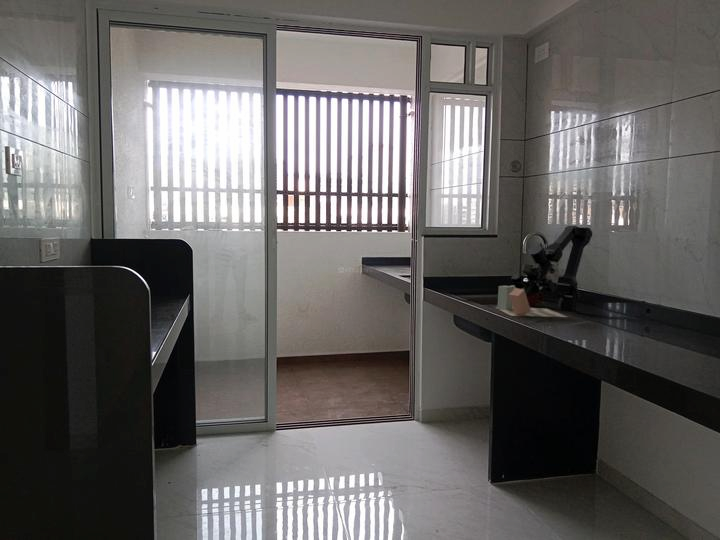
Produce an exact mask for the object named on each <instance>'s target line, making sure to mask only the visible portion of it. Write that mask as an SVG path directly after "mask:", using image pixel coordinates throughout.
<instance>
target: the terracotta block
mask: <svg viewBox="0 0 720 540" xmlns="http://www.w3.org/2000/svg"><path fill="white" fill-rule="evenodd" d="M509 296H510V299H511V302H512V305H513V309H514V312H515V315H521V316H520V317H526V316H525V315H526V314H527V313H528V312H529V311H530V308H531V306H529V303H528V300H527V296H526V293H525V290H522V289H514V290H513V291H512V292H511V293H510V294H509Z"/></svg>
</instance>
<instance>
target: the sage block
mask: <svg viewBox="0 0 720 540" xmlns="http://www.w3.org/2000/svg"><path fill="white" fill-rule="evenodd" d="M511 286H512V285H498V290H497V291H498V293H497V306H496V307H497V308H496V309H498V310H499V309H502V310H512V302H511V299H510V296H509V294H510V293H511V292H512V291H513V288H514V287H511Z"/></svg>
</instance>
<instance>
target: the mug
mask: <svg viewBox="0 0 720 540" xmlns="http://www.w3.org/2000/svg"><path fill="white" fill-rule="evenodd" d="M540 295H541V300H539V301H538V299H539V296H540ZM527 300H528V303H529V306H530V307H535V306H536V305H537V304H541V303H543V302H544V301H545V294H544V293H543V292H540V293H536V294H534V295H532V296H530V297H528V298H527Z"/></svg>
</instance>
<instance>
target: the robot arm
mask: <svg viewBox="0 0 720 540" xmlns="http://www.w3.org/2000/svg"><path fill="white" fill-rule="evenodd" d="M592 237H593V231H592V230H591V228H590V227H580V226H576V225H567V226H565V228H564V230H563V231H562V232H561V233H560V235H559V236H558V237H557V238H556V240H554V242H553V243H551V244H548V245H547V246H545V247H544V246H543V244H542V243H536V245H533V246H531V247H529V248H528V250H527V251H528V255H529V257H530V259H531V260H532V262H533V263H534V264H535V265H533V264H524V265H523V266H522V271H521V273H524V274H525V278H524V277H523V276H522V275H516V274H514V275H512V276H511V278H510V281H511V282H512V284H513V285H514V286H515V287H516V288H519V289H522V288H523V290H525V293H526V296H527V298H528V297H530V296H532V295H534V294H536V293H540V292H541V290H542V289H543V288H545V289H546V290H545V291H546V292H547V293H549V294H553V293H555V292H556V297H557V298H559V300H558V310H560V311H572V312H573V311H574V312H575V311H576V309H577V300H580V299H581V293H580V290H579V289H578V285H579V283H578V280H577V274H578V270H579V267H580V263H581V259H582V256H583V251H584V249H585V247H587V246H588V244H589V243H590V242H591V239H592ZM570 242H571V244H572V246H571V249H570V254H569V256H568V260H567V264H566V267H565V272H564V274H563V275H562V276H559V277H557V283H556V286H555V284H554V281H553V280H552V279H550V278H548V277H547V276H548V273H549V272H554V266H553V264H552V263H558V262H559V261H560V260H561V258H562V257H563V256H564V255H563V251H564V249H565V248H566V247H567V246H568V244H570Z"/></svg>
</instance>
